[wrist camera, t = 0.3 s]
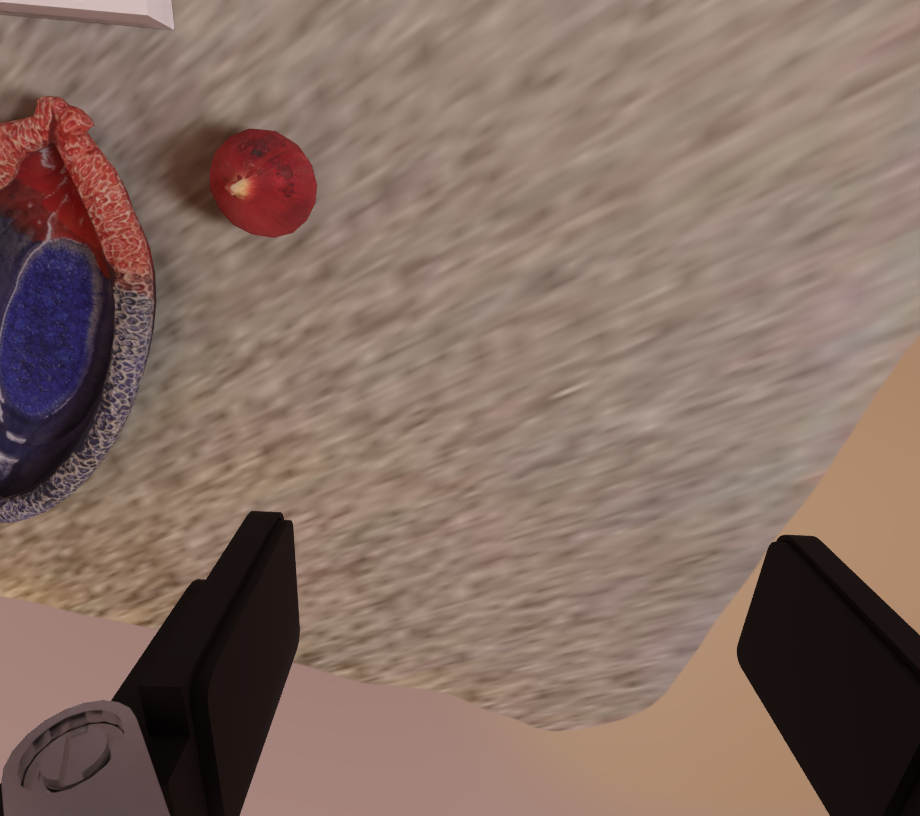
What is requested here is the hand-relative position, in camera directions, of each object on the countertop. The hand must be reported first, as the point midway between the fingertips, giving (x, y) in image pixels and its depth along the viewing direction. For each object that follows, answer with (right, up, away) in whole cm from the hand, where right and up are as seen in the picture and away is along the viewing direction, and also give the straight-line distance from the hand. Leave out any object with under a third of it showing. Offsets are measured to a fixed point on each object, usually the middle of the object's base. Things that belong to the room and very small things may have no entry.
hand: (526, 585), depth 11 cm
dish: (-30, +9, +29) cm, 43 cm away
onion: (-13, +18, +25) cm, 33 cm away
